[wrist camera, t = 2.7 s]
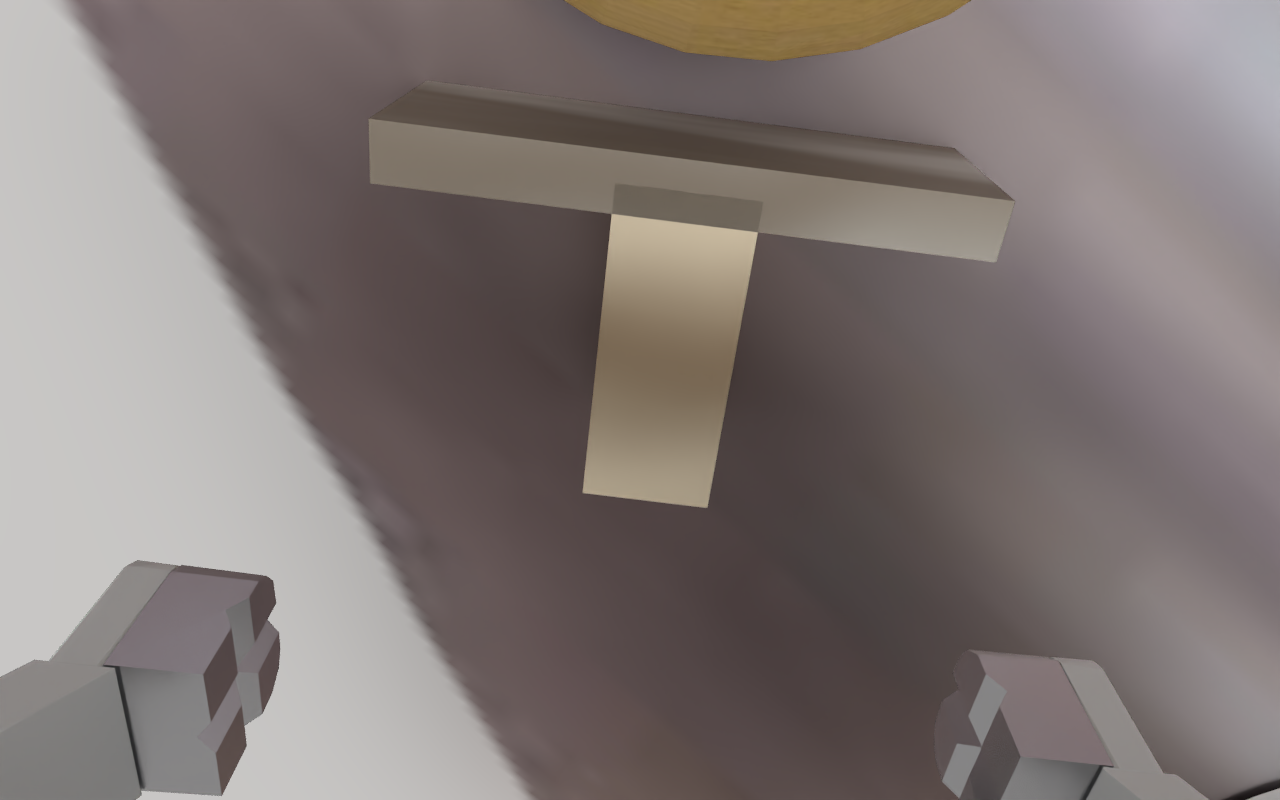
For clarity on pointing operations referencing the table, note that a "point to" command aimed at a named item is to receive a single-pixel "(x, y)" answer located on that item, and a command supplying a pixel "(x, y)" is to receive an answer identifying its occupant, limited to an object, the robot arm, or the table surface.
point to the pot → (766, 23)
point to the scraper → (680, 238)
